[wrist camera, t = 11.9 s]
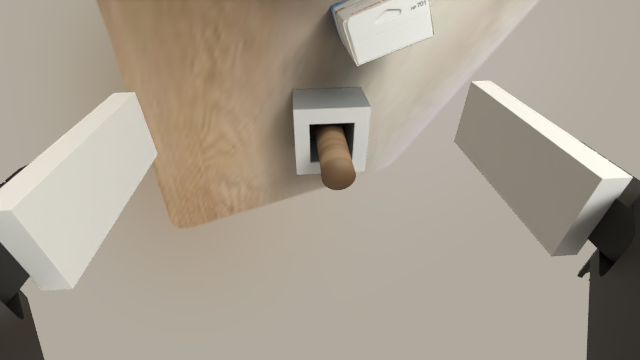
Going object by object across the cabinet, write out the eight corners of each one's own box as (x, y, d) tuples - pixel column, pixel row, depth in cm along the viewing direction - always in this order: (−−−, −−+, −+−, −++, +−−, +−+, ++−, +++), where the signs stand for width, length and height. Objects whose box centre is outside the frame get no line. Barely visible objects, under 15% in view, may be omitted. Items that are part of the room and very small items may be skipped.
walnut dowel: (313, 108, 48) (321, 163, 36) (339, 107, 48) (356, 161, 36) (313, 132, 50) (321, 190, 38) (338, 131, 50) (354, 189, 38)
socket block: (292, 89, 46) (293, 110, 40) (360, 87, 46) (371, 107, 40) (295, 149, 52) (296, 174, 46) (356, 146, 52) (364, 171, 46)
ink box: (340, 42, 42) (355, 70, 33) (328, 2, 39) (340, 20, 30) (403, 17, 41) (436, 39, 32) (395, -26, 38) (430, -16, 29)
